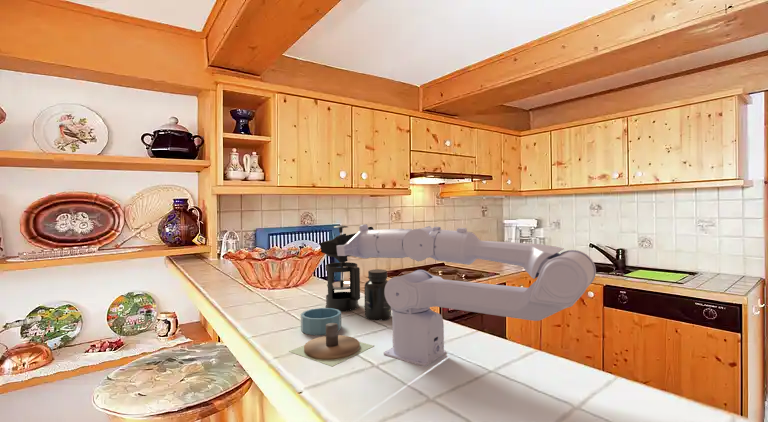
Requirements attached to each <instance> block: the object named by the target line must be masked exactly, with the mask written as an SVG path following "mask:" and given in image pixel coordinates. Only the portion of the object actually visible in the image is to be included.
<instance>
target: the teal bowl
mask: <svg viewBox="0 0 768 422" xmlns="http://www.w3.org/2000/svg"><path fill="white" fill-rule="evenodd" d="M328 323H337V324H338V332H339V331H340V330H341V329H342V312H341V311H339V310H338V309H333V308H325V307H319V308H318V307H317V308H311V309H310V308H309V309H307V310H304V311H303V312H302V313H301V314H300V330H301V332H302V333H303V334H306V335H307V336H308V335H310V336H326V324H328Z"/></svg>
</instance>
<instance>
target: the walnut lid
mask: <svg viewBox="0 0 768 422" xmlns="http://www.w3.org/2000/svg"><path fill="white" fill-rule="evenodd" d="M359 342H360V341H359V340H358V339H357V338H355V337H352V336H348V335H342V334H341V335H340V334H339V331H338V324H337V323H328V324H326V335H322V336H318V337H315V338H313V339H310V340H308V341H307V342H306V343H305V344H304V345H303V346H304V353H305V354H306V355H307V356H309V357H311V358H315V359H322V360H333V359H340V358H345V357H348V356H351V355H353V354H355V353H356V352H358V351H359V349H360V343H359Z"/></svg>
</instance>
